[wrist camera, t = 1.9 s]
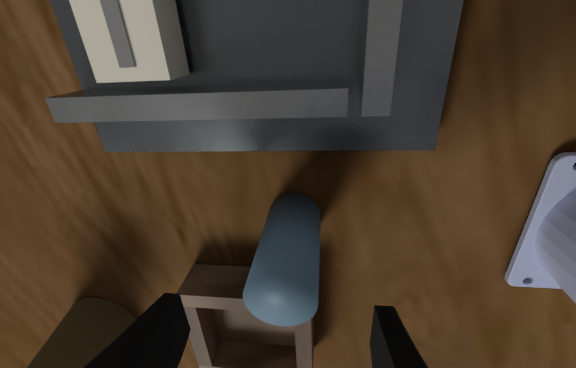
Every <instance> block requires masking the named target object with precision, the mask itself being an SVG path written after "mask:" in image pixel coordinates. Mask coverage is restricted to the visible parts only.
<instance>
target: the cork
mask: <svg viewBox="0 0 576 368" xmlns="http://www.w3.org/2000/svg"><path fill="white" fill-rule="evenodd" d="M136 320H137V319H136V318H135V317H134V316H133V314H132V313H131V312H129V311H128V310H126V309H125V308H123V307H122V306H120V305H118V304H116V303H114V302H111V301H109V300H105V299H101V298H84V299H81V300H78V301H77V302H76V303H75V304H74V305H73V306H72V307H71V309H70V310H69V312H68V313H67V314H66V316H65V317H64V318H63V320H62V321H61V322H60V324H59V325H58V326H57V328H56V329H55V330H54V332H53V333H52V335H51V336H50V337H49V339H48V340H47V341H46V343H45V344H44V345H43V347H42V348H41V349H40V351H39V352H38V353H37V355H36V356H35V358H34V359H33V360H32V362H31V363H30V364H29V366H28V367H27V368H83V367H84V366H86V365H87V364H88V363H89V362H90V361H91V360H92V359H94V358H95V357H96V356H97V355H98V354H99V353H101V352H102V351H103V350H104V349H105V348H106V347H107V346H109V345H110V344H111V343H112V342H113V341H114V340H115V339H116V338H117V337H118V336H119V335H120V334H122V333H123V332H124V331H125V330H126V329H127V328H128V327H129V326H130V325H131V324H132V323H133V322H134V321H136Z"/></svg>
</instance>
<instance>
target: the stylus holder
mask: <svg viewBox="0 0 576 368" xmlns="http://www.w3.org/2000/svg"><path fill="white" fill-rule="evenodd" d="M250 269H251V267H249V266H228V265H207V264H193V266H192V268H191V270H190V271H189V273H188V275H187V276H186V278H185V280H184V282H183V283H182V285H181V287H180V288H179V290H178V292H177V294H180V297H181V300H182V303H183V306H184V310H185V313H186V316H187V319H188V322H189V326H190V329H191V330H190V333H189V337H190V340H191V343H192V347H193V350H194V353H195V356H196V359H197V362H198V365H199V368H313V357H314V323H313V317H312V318H311V319H310V320H308V321H307V322H305V323H302V324H300V325H296V326H276V325H272V324H268V323H266V322H264V321H262V320H260V319H258V318H256V317H255V316H254V315H253V314H252V313H251V312H250V311H249V310H248V309H247V307H246V306H245V303H244V300H243V291H244V287H245V284H246V281H247V278H248V275H249V272H250Z"/></svg>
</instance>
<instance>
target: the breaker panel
mask: <svg viewBox="0 0 576 368" xmlns="http://www.w3.org/2000/svg"><path fill="white" fill-rule="evenodd" d="M463 1H464V0H175V2H176V7H177V12H178V17H179V22H180V27H181V33H182V38H183V43H184V48H185V53H186V58H187V63H188V69H189V74H190V75H187V76H183V77H180V78H176V79H173V80H161V81H135V82H110V83H97V82H96V79H95V76H94V73H93V70H92V67H91V64H90V61H89V58H88V55H87V52H86V49H85V46H84V43H83V40H82V37H81V35H80V32H79V29H78V26H77V23H76V20H75V17H74V14H73V11H72V8H71V5H70V2H69V0H50V2H51V5H52V7H53V10H54V13H55V16H56V18H57V21H58V24H59V27H60V29H61V32H62V35H63V38H64V40H65V43H66V46H67V49H68V51H69V54H70V57H71V60H72V63H73V65H74V68H75V71H76V74H77V76H78V79H79V82H80V85H81V87H82V90H80V91H76V92H71V93H67V94H62V95H58V96H53V97H49V98H45V99H46V102H47V104H48V106H49V109H50V111H51V113H52V116H53V118H54V120H55V123H69V122H94V123H95V126H96V129H97V131H98V134H99V137H100V140H101V142H102V145H103V148H104V151H105V152H162V151H355V150H435V145H436V140H437V135H438V130H439V125H440V120H441V115H442V109H443V104H444V99H445V94H446V89H447V84H448V79H449V73H450V68H451V63H452V58H453V53H454V48H455V43H456V37H457V32H458V27H459V22H460V17H461V12H462V7H463Z"/></svg>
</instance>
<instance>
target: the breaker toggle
mask: <svg viewBox="0 0 576 368" xmlns="http://www.w3.org/2000/svg"><path fill="white" fill-rule="evenodd" d="M69 2H70V5H71V8H72V11H73V14H74V17H75V20H76V23H77V26H78V29H79V32H80V35H81V37H82V40H83V43H84V46H85V49H86V52H87V55H88V58H89V61H90V64H91V67H92V70H93V73H94V76H95V79H96V82H97V83H110V82H135V81H161V80H173V79H176V78H180V77H183V76H187V75H190V74H189V69H188V63H187V58H186V53H185V48H184V43H183V38H182V33H181V27H180V22H179V17H178V12H177V7H176V2H175V0H69Z"/></svg>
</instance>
